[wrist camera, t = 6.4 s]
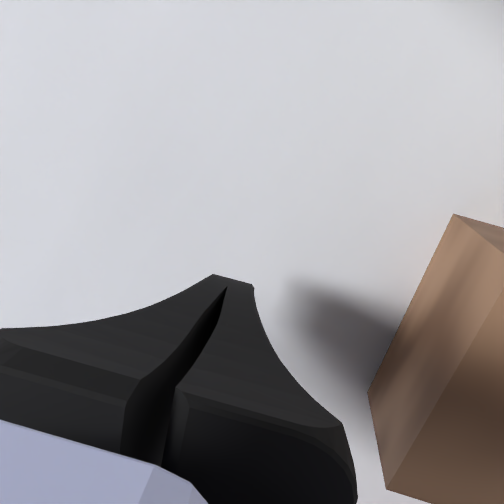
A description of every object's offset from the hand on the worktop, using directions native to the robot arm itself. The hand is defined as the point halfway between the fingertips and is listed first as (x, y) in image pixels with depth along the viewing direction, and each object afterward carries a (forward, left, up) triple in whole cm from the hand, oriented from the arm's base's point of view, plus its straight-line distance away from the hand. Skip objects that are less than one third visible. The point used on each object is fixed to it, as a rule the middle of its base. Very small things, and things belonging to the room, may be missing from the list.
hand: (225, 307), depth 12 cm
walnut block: (0, -9, -3) cm, 9 cm away
